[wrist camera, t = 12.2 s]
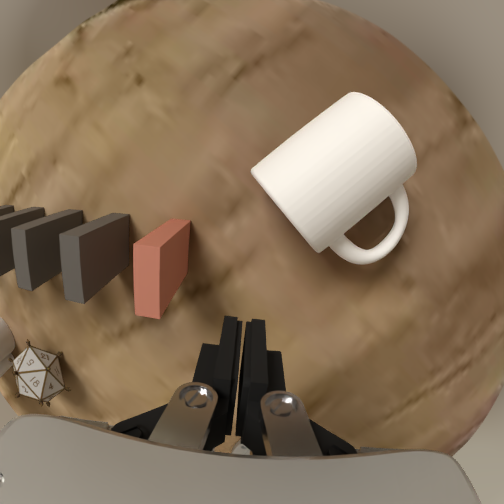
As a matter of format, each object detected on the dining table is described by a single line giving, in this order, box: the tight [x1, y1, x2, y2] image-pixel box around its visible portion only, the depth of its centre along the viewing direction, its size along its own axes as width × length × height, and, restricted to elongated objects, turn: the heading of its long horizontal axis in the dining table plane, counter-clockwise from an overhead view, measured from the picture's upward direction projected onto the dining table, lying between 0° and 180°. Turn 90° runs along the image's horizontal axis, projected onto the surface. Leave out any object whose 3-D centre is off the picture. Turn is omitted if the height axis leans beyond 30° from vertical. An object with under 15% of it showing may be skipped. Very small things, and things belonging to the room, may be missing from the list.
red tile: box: [133, 219, 191, 319], centre depth 23 cm, size 5×2×9 cm, turn 173°
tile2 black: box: [59, 213, 130, 304], centre depth 22 cm, size 5×2×9 cm, turn 173°
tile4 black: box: [0, 207, 44, 276], centre depth 22 cm, size 5×2×9 cm, turn 173°
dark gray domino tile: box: [11, 209, 82, 291], centre depth 22 cm, size 5×2×9 cm, turn 173°
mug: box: [251, 92, 417, 264], centre depth 21 cm, size 12×10×8 cm
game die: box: [8, 339, 71, 407], centre depth 28 cm, size 9×8×10 cm
